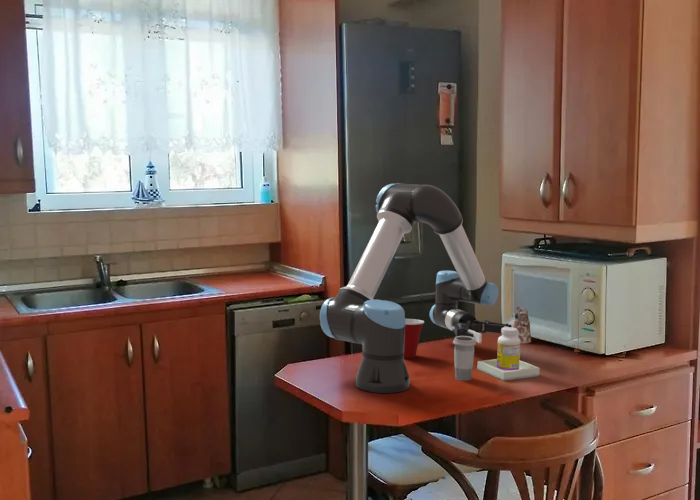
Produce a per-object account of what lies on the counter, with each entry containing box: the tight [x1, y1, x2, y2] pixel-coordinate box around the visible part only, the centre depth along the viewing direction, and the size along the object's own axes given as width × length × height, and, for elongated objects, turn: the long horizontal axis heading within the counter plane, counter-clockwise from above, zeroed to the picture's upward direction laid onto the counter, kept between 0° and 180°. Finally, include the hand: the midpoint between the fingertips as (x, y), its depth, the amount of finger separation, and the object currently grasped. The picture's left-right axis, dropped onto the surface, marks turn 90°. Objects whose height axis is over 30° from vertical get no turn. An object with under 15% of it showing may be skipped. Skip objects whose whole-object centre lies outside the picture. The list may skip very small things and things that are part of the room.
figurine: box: [511, 306, 532, 344], centre depth 265 cm, size 7×7×12 cm
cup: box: [452, 336, 477, 382], centre depth 218 cm, size 7×7×12 cm
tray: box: [476, 358, 540, 382], centre depth 226 cm, size 13×13×2 cm
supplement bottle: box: [496, 327, 521, 371], centre depth 225 cm, size 7×7×13 cm
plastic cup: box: [404, 318, 425, 359], centre depth 242 cm, size 11×11×12 cm
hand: (499, 336), depth 229 cm, fingers open, 13 cm apart
